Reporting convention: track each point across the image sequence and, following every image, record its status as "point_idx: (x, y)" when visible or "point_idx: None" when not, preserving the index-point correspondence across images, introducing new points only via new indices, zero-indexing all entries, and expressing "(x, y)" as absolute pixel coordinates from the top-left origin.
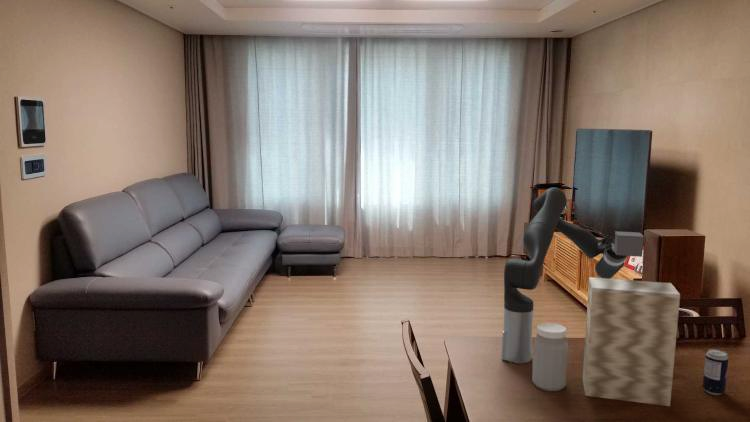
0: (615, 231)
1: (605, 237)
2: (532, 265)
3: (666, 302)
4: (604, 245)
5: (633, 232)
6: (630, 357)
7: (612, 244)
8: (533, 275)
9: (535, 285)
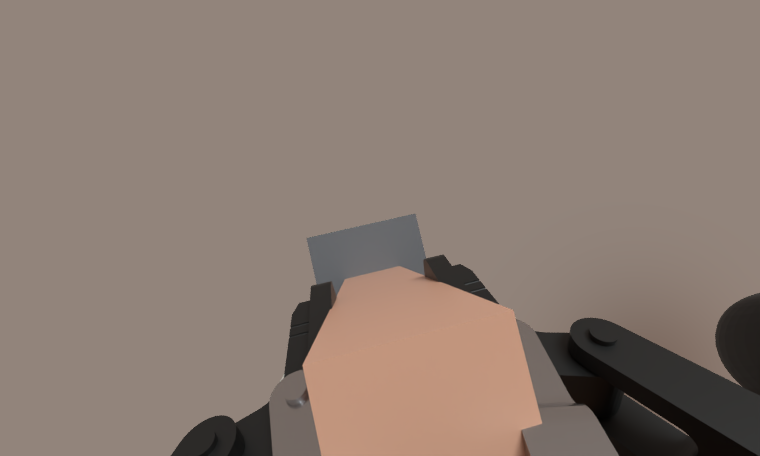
0: (414, 214)
1: (613, 325)
2: (741, 299)
3: None
4: (655, 446)
5: (338, 231)
6: None
7: None
8: (716, 329)
9: (734, 377)
